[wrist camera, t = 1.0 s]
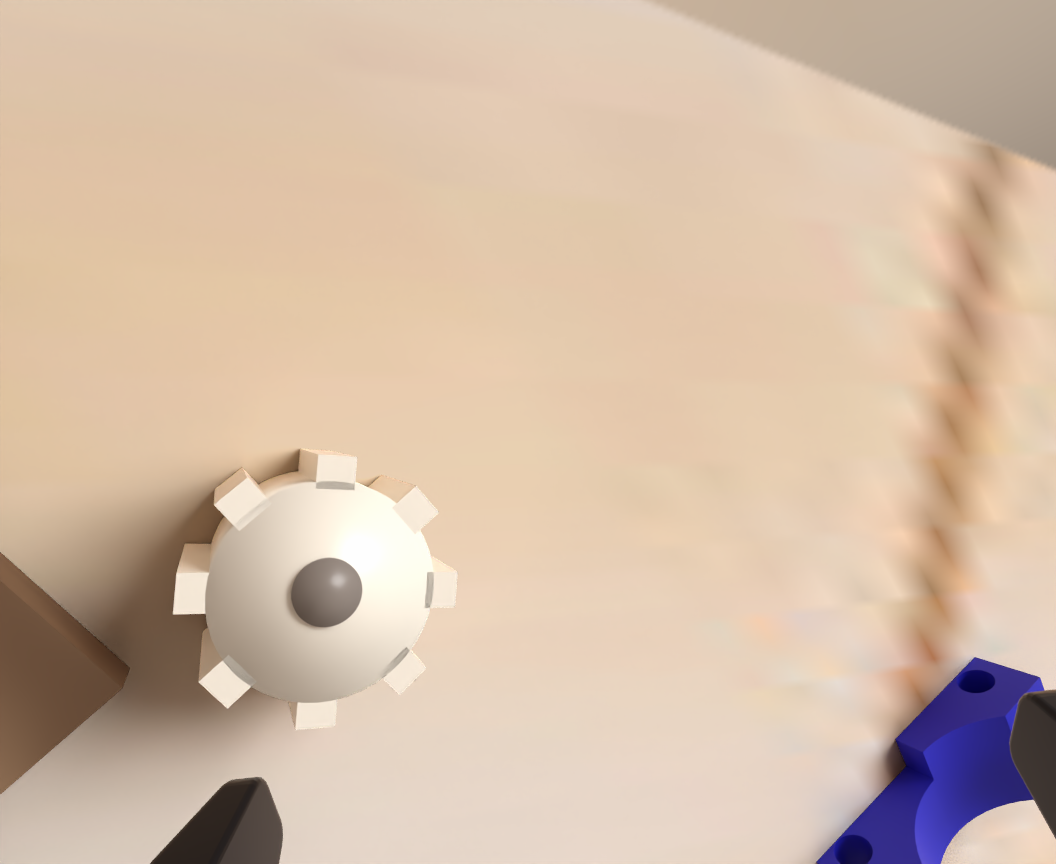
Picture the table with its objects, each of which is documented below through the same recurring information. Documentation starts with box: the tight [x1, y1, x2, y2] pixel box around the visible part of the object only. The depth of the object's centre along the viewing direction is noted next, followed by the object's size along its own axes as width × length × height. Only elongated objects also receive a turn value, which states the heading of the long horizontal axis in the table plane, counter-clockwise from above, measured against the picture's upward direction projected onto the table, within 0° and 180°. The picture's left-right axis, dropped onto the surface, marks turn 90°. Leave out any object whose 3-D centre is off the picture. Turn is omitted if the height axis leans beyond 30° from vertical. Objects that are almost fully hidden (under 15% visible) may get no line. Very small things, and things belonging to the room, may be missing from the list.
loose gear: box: [173, 449, 458, 730], centre depth 18 cm, size 6×6×4 cm
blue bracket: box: [817, 657, 1044, 864], centre depth 28 cm, size 12×4×6 cm, turn 118°
